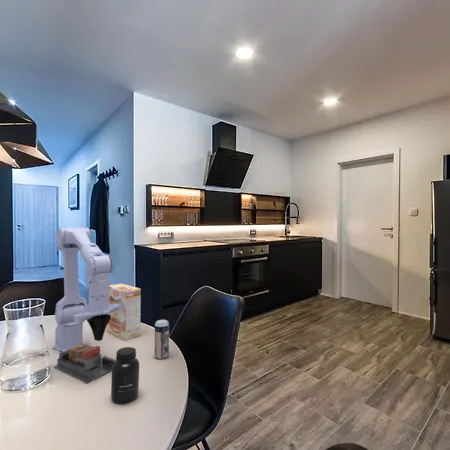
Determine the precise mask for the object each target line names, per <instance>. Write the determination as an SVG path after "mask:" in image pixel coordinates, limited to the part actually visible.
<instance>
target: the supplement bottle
mask: <svg viewBox="0 0 450 450" xmlns="http://www.w3.org/2000/svg"><path fill="white" fill-rule="evenodd" d="M136 351H137V350H136V348H135V347H131V346H127V347H122V348H119V349H118V350H117V351H116V356H115V360H116V361H115V362H114V363H113V365H112V371H111V380H110V381H111V387H110V399H111V401H112V402H114V403H115V404H119V405H122V404H128V403H129V404H130V402H131V403H132V402H133V401H134V400H135V399H136V398H137V397H138V396H139V389H140V361H139V359H138V358H137V352H136Z"/></svg>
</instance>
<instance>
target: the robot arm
mask: <svg viewBox="0 0 450 450" xmlns="http://www.w3.org/2000/svg"><path fill="white" fill-rule="evenodd" d="M56 247H57V251H59V252H61V253H62V258H63V285H64V286H63V288H64V289H63V292H64V293H63V294H64V295H63V297H62V298H61V299H59V300H58V301H57V303H56V304H55V311H54V318H55V322H56V324H57V325H56V327H55V331H54V335H55V336H54V339H55V341H54V345H53V346H52V349H54V350H57V351H60V352H64V351H67V350H69V348H72V347H75V346H77V345H80V344H83V343H84V344H87V345H89V344H88V343H85V342H84V341H83V339H84V338H83V333H84V330H83V329H84V328H83V327H84V325H83V323H85V321H86V322H87V323H88V325H89V326H90V328H91V331H92V334H93V340H94V341H97V342H99V341H103V339H104V335H105V331H106V330H107V324H108V322H109V320H110V319H111V315H108V313H111V312H114V311H120V310H121V305H120V304H113V305H109V285H110V274H111V273H112V272H113V269H114V261H113V258H112V256H111V254H104V252H103V251H102V250H101V249H100V247H99V245H97V244H96V243H93V242H92V241H91V231H90V229H89V228H88V227H87V226H85V227H63V226H61V227H59V228H58V230H57V233H56ZM78 254H79V255H80V257H81V258H82V259H83V261H84V263H85V271H86V279H87V281H88V300H87V299H86V298H85V297H84V296H81V295H80V282H79V255H78Z"/></svg>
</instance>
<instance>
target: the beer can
mask: <svg viewBox="0 0 450 450" xmlns="http://www.w3.org/2000/svg"><path fill="white" fill-rule="evenodd" d="M169 345H170V323H169V320H166V319H158V320H156V321H155V324H154V355H153V356H154V357H155V358H156V359H159V360H163V359H166V358H167V357H169V354H170V350H169V349H170V346H169Z"/></svg>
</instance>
